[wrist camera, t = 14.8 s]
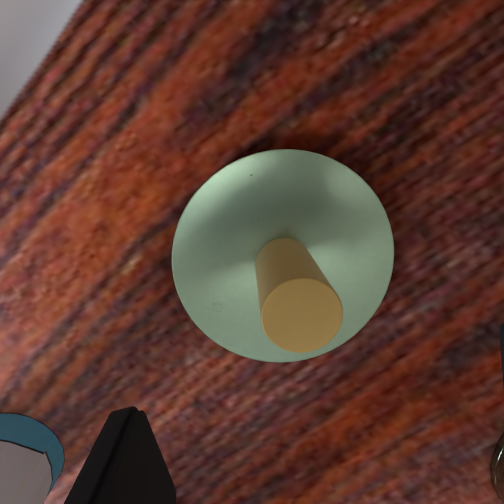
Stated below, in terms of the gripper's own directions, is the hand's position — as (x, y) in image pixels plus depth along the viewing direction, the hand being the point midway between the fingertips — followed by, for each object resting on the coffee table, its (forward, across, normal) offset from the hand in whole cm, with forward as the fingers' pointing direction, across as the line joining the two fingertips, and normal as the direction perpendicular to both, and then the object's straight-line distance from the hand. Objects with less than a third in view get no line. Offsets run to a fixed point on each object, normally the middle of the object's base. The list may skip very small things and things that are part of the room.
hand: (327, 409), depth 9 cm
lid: (+12, 0, 0) cm, 12 cm away
